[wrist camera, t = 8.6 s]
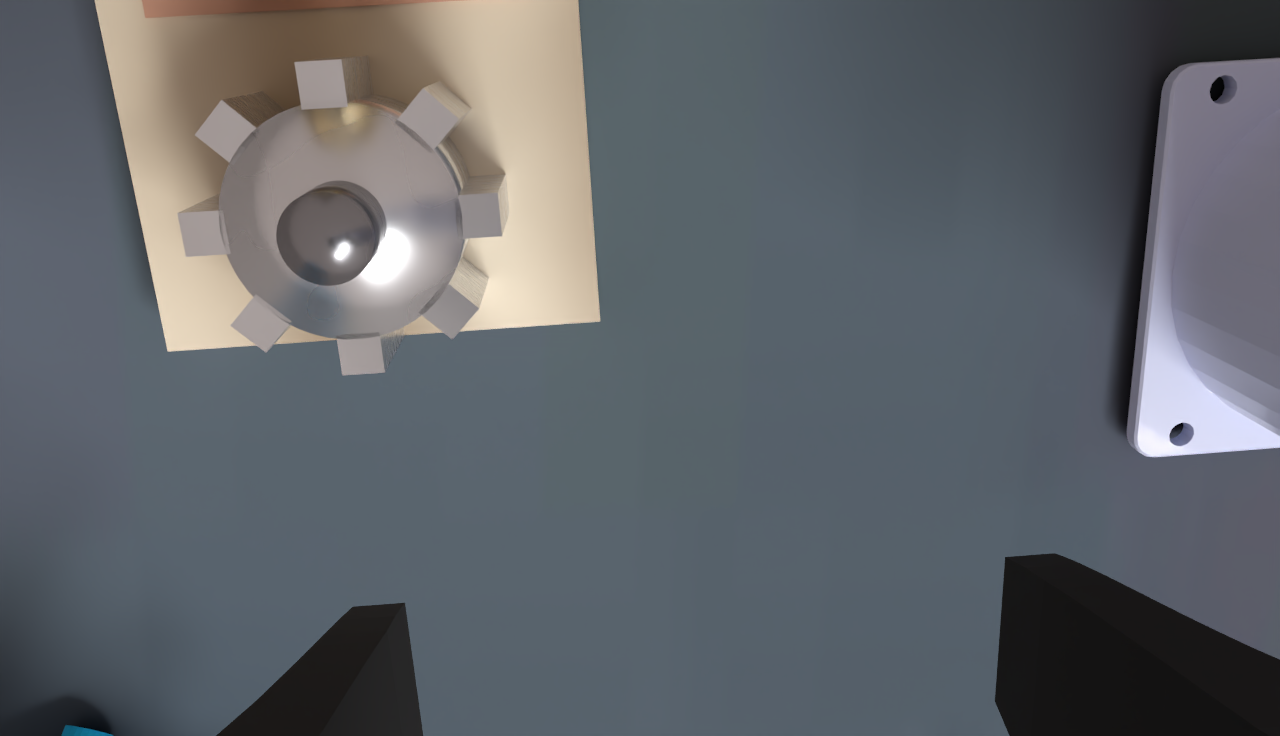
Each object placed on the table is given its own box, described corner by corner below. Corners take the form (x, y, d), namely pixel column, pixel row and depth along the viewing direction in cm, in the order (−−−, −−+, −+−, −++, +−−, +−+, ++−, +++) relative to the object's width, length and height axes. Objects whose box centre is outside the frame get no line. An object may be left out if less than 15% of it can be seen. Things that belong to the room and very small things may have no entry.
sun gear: (494, 48, 18) (477, 52, 15) (520, 326, 19) (510, 387, 16) (198, 65, 18) (115, 73, 14) (249, 345, 19) (184, 410, 16)
